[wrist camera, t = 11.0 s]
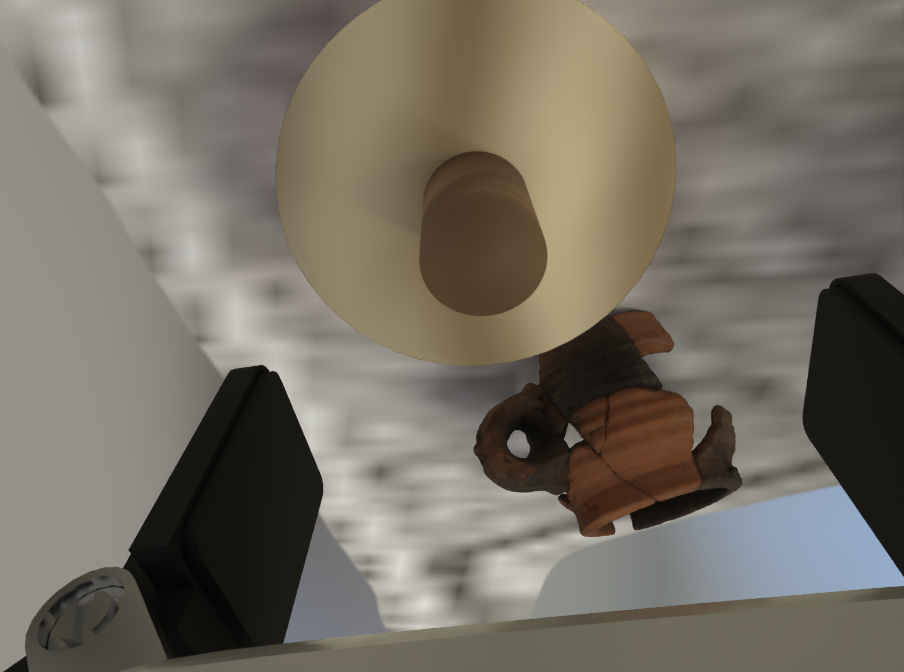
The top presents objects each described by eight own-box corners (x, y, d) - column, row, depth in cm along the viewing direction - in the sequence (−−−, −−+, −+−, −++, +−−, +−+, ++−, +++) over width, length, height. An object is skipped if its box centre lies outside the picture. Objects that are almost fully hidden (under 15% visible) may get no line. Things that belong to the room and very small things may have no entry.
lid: (659, -75, 16) (741, -81, 12) (666, 315, 22) (721, 405, 18) (223, 28, 17) (148, 57, 13) (347, 371, 24) (325, 470, 19)
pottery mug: (716, 286, 28) (810, 456, 24) (639, 381, 36) (700, 520, 32) (461, 325, 26) (521, 524, 22) (439, 419, 34) (480, 575, 30)
